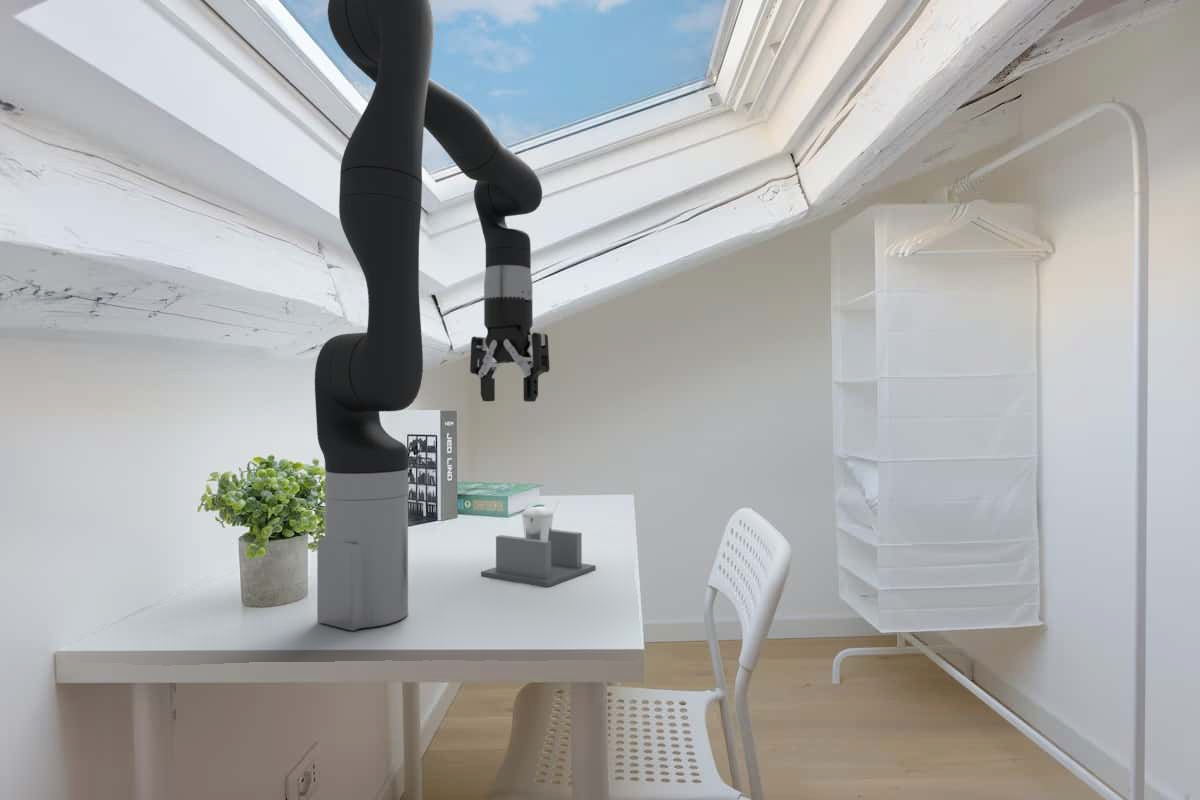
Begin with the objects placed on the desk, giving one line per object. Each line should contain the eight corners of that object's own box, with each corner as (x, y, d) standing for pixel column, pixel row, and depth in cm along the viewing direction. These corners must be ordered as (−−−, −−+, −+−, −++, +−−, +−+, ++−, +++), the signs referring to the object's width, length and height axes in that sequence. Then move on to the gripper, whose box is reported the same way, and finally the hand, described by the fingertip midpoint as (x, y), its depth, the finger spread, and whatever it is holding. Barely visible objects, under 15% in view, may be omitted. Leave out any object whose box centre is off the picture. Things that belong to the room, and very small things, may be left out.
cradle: (548, 587, 96) (548, 545, 96) (481, 575, 103) (481, 537, 103) (595, 569, 107) (595, 532, 107) (531, 560, 113) (531, 524, 113)
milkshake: (557, 572, 102) (557, 502, 102) (520, 572, 102) (520, 502, 102) (559, 565, 107) (559, 498, 107) (524, 565, 107) (524, 498, 107)
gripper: (458, 299, 112) (458, 401, 112) (528, 291, 104) (528, 401, 104) (490, 304, 118) (491, 401, 118) (559, 297, 110) (559, 401, 111)
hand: (508, 401), depth 111 cm, fingers open, 8 cm apart
